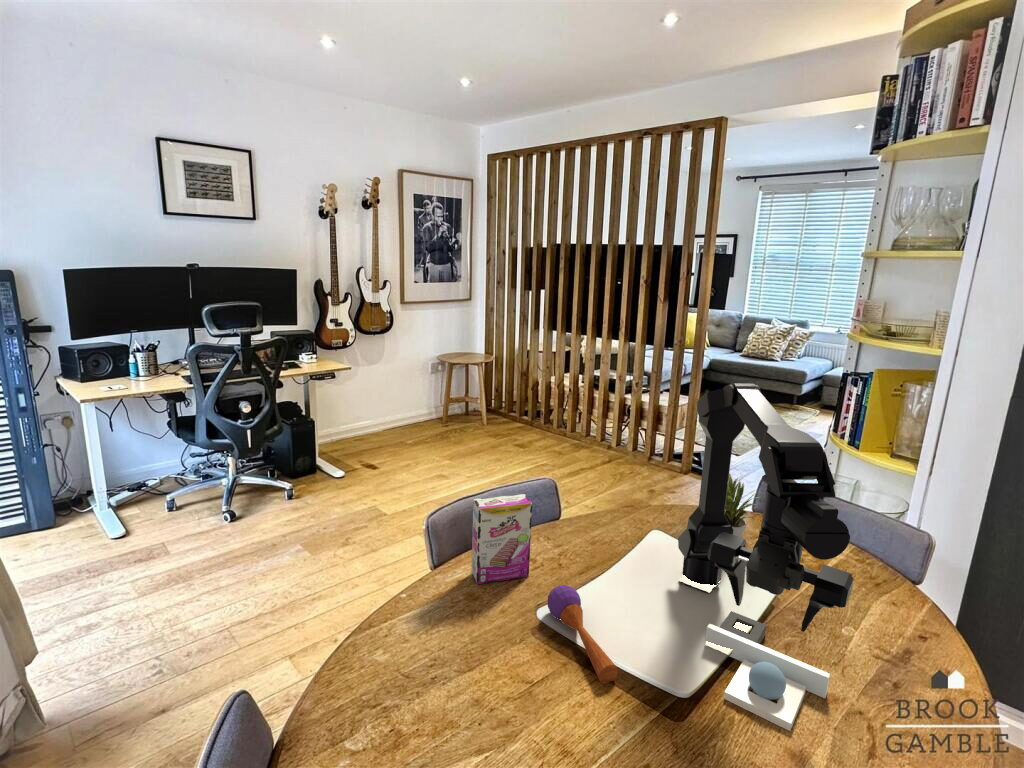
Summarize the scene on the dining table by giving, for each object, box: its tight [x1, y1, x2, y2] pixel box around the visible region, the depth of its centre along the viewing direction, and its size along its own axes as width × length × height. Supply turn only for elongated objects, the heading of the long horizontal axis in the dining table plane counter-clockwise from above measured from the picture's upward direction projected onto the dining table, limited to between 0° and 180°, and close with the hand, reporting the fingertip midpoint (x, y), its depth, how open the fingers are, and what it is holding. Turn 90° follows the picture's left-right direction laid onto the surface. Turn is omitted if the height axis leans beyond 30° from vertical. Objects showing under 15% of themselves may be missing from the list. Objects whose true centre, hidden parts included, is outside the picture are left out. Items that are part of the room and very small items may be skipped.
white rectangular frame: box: [723, 660, 807, 732], centre depth 82 cm, size 9×9×1 cm
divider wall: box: [705, 623, 831, 699], centre depth 88 cm, size 18×1×4 cm, turn 51°
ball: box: [749, 662, 786, 701], centre depth 82 cm, size 5×5×5 cm
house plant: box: [701, 472, 760, 538], centre depth 127 cm, size 14×14×16 cm
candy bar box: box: [471, 493, 533, 585], centre depth 111 cm, size 11×5×16 cm, turn 108°
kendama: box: [547, 584, 619, 684], centre depth 93 cm, size 6×6×20 cm
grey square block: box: [719, 610, 767, 645], centre depth 96 cm, size 6×6×2 cm
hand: (769, 617), depth 84 cm, fingers open, 9 cm apart
